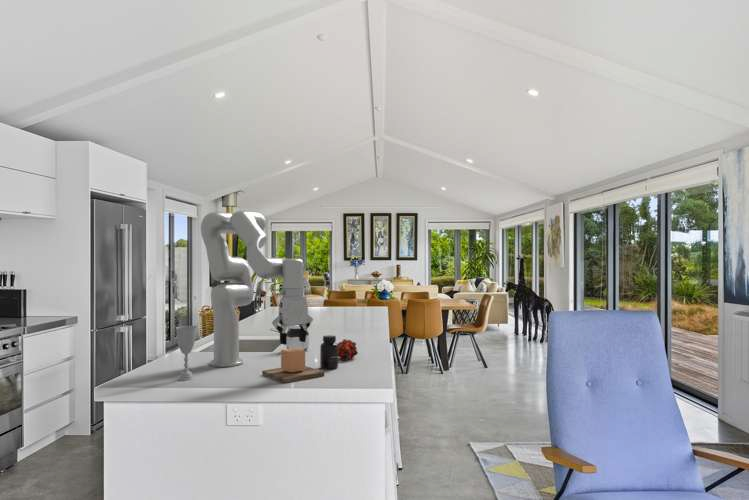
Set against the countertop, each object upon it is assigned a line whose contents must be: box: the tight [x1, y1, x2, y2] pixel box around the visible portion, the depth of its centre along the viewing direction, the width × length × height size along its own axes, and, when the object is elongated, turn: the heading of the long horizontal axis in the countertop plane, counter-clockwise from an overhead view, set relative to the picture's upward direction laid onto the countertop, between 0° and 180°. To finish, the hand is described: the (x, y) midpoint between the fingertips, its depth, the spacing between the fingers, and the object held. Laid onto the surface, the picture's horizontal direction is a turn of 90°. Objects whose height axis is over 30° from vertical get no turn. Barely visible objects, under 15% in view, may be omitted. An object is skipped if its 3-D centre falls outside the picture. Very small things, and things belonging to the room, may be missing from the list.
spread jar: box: [285, 325, 310, 351], centre depth 235 cm, size 12×11×12 cm
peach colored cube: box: [280, 348, 306, 372], centre depth 189 cm, size 6×6×7 cm
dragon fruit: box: [337, 338, 359, 361], centre depth 218 cm, size 8×8×12 cm
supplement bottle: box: [319, 335, 339, 370], centre depth 202 cm, size 7×7×12 cm
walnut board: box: [261, 365, 325, 384], centre depth 189 cm, size 16×16×2 cm
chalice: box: [174, 325, 198, 381], centre depth 185 cm, size 7×7×18 cm
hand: (293, 342), depth 190 cm, fingers open, 7 cm apart
